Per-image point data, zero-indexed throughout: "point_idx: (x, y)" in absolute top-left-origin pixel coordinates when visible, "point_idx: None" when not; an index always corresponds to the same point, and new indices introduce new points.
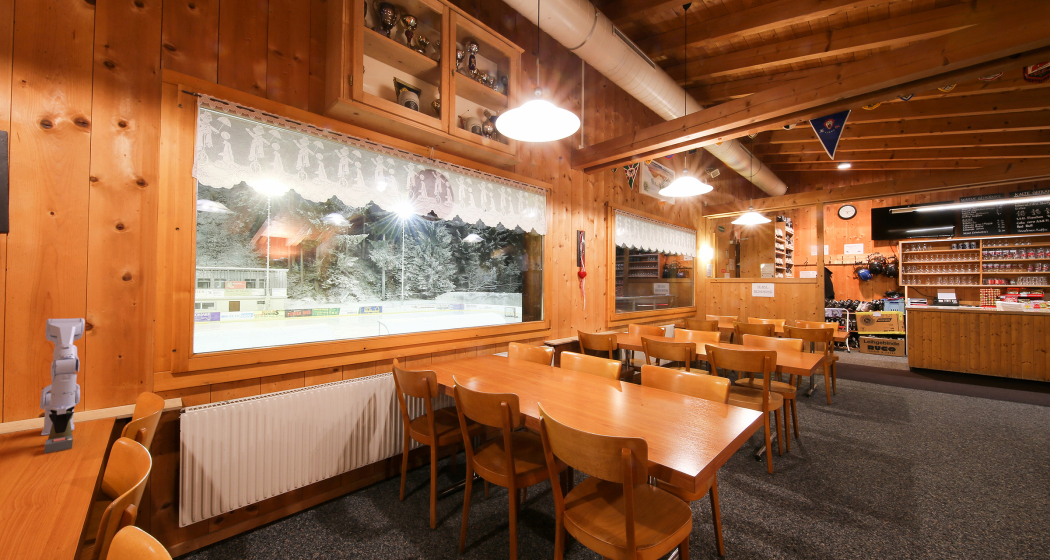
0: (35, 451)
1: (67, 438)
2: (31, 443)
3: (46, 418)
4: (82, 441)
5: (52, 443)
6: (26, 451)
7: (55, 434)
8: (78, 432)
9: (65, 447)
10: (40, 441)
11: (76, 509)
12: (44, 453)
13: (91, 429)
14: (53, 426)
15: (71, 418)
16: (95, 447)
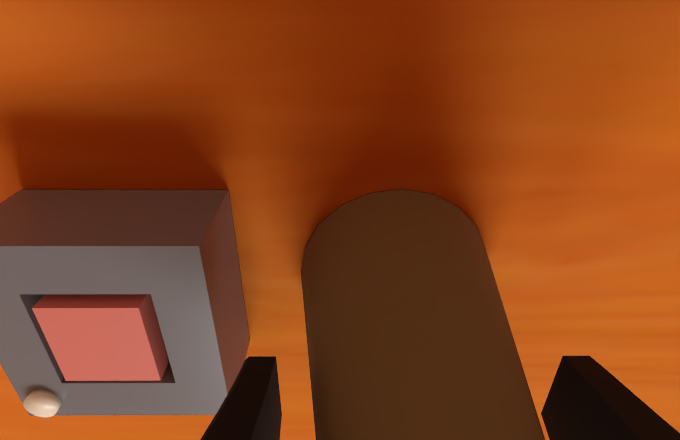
0: (190, 118)
1: (125, 387)
2: (661, 57)
3: None
4: (285, 382)
5: None
6: (265, 37)
7: (318, 331)
8: (670, 361)
9: None
10: (657, 133)
11: None
12: (17, 192)
13: (670, 417)
14: (368, 421)
15: None
16: (19, 432)
